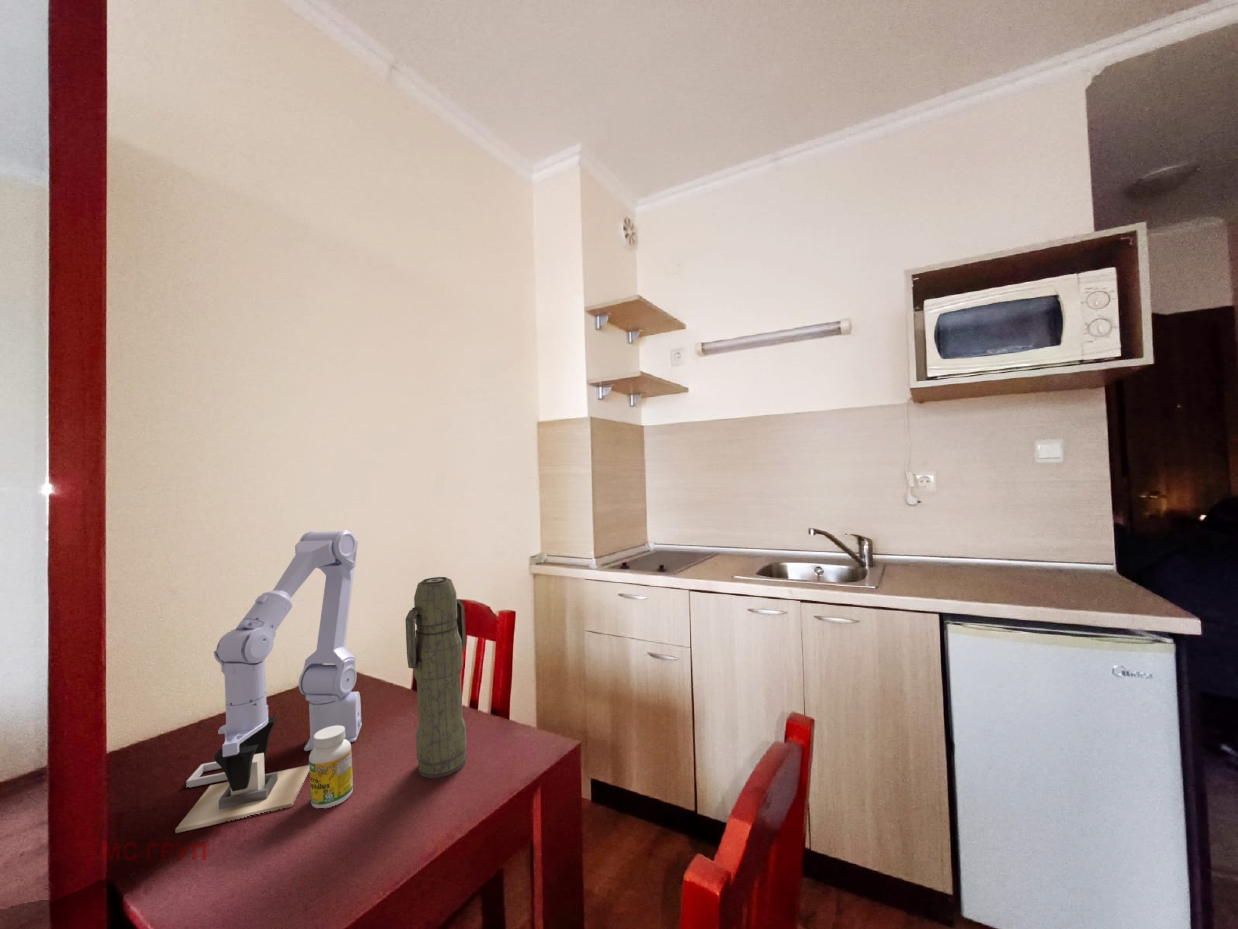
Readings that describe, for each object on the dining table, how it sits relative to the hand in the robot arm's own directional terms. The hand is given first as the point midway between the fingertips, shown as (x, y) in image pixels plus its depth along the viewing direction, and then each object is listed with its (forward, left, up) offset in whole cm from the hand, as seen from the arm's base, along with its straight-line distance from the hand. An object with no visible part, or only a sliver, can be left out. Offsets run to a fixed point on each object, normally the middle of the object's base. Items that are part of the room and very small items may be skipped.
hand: (249, 776), depth 87 cm
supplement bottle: (-14, +6, -4) cm, 16 cm away
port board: (0, 0, -4) cm, 4 cm away
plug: (0, 0, -3) cm, 3 cm away
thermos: (-32, +3, -4) cm, 32 cm away
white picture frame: (+9, -11, -4) cm, 15 cm away
